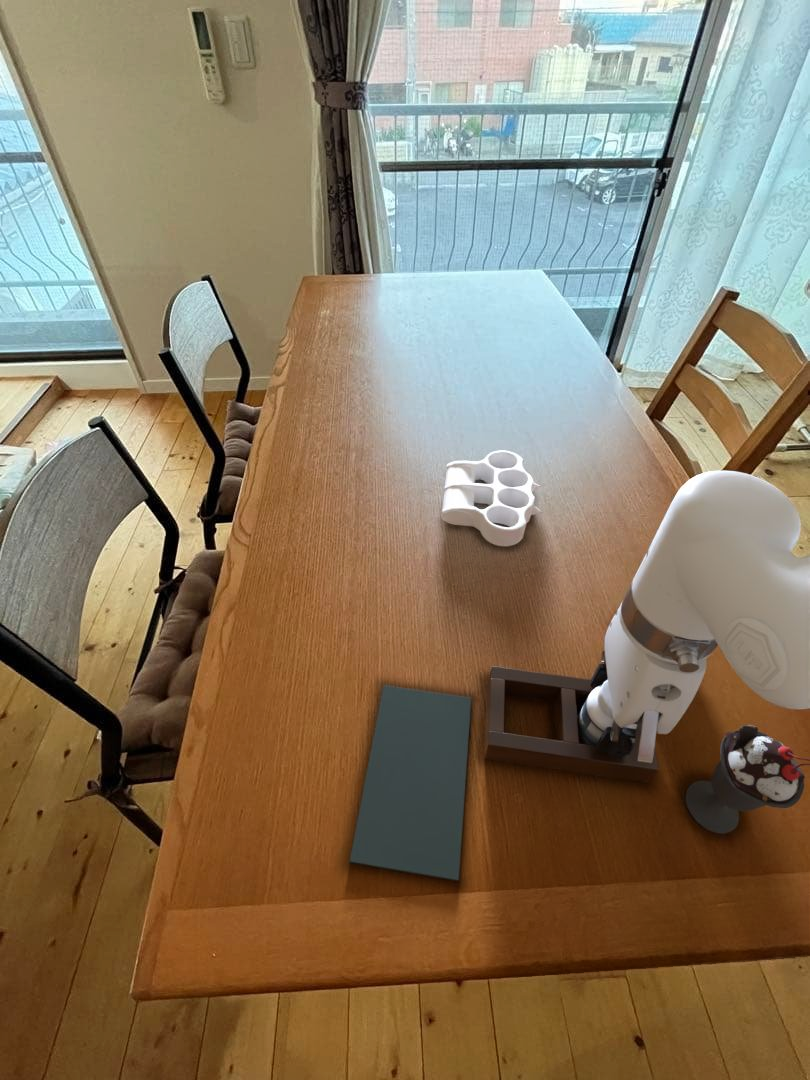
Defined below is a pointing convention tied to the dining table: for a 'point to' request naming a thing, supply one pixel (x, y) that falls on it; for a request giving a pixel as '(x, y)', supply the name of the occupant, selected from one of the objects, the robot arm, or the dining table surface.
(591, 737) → the pill bottle
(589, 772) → the holder
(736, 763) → the sundae
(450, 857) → the mat
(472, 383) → the dining table surface
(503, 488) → the white brass knuckles
